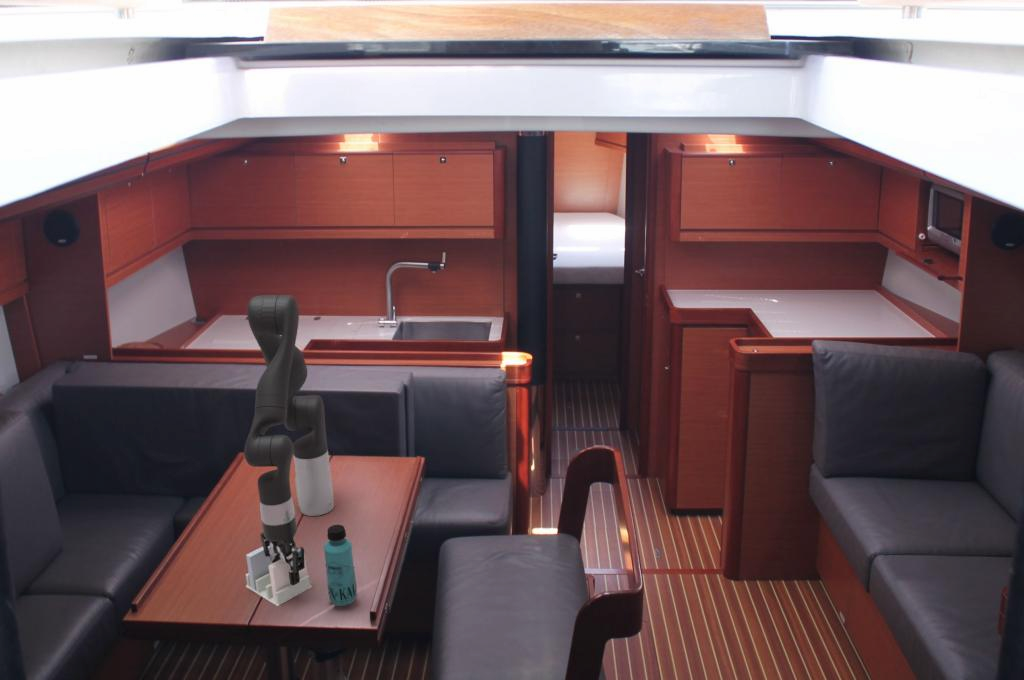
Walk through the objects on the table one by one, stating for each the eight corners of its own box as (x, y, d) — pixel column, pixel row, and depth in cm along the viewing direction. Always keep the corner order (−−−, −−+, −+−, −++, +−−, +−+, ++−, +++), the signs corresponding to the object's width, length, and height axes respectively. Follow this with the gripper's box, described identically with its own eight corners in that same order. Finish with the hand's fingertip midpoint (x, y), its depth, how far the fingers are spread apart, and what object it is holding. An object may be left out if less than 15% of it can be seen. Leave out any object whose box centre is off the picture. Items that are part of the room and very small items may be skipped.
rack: (277, 609, 223) (275, 595, 222) (245, 588, 231) (243, 575, 230) (312, 589, 230) (311, 575, 229) (280, 570, 238) (278, 556, 237)
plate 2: (273, 598, 226) (268, 565, 223) (304, 581, 232) (300, 548, 229) (277, 601, 225) (272, 568, 222) (308, 583, 231) (304, 551, 228)
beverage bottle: (331, 596, 227) (322, 521, 220) (359, 594, 227) (351, 519, 221) (328, 613, 221) (319, 536, 214) (357, 610, 221) (349, 534, 215)
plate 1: (251, 587, 230) (245, 554, 227) (282, 570, 237) (277, 538, 234) (254, 589, 229) (249, 557, 226) (286, 573, 236) (281, 540, 233)
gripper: (246, 512, 223) (255, 575, 229) (283, 532, 214) (292, 597, 220) (273, 499, 228) (281, 561, 234) (310, 518, 219) (318, 582, 225)
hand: (286, 578), depth 227 cm, fingers open, 6 cm apart
